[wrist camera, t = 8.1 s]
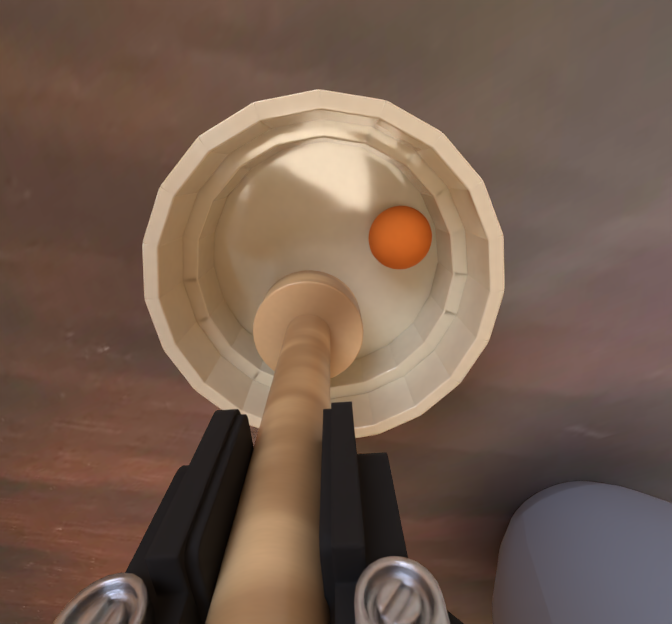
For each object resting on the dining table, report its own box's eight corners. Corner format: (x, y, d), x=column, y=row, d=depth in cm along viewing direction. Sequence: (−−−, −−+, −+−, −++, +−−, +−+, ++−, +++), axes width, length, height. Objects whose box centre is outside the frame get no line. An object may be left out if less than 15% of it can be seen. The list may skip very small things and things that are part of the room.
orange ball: (355, 246, 20) (360, 259, 17) (383, 192, 19) (392, 196, 16) (405, 270, 20) (418, 286, 18) (434, 219, 19) (452, 227, 17)
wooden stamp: (245, 339, 19) (15, 794, 5) (284, 252, 18) (106, 565, 4) (333, 376, 20) (340, 857, 6) (378, 296, 19) (527, 690, 4)
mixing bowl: (160, 318, 22) (102, 370, 16) (252, 56, 17) (215, 2, 12) (379, 407, 24) (394, 480, 18) (508, 198, 20) (580, 210, 14)
